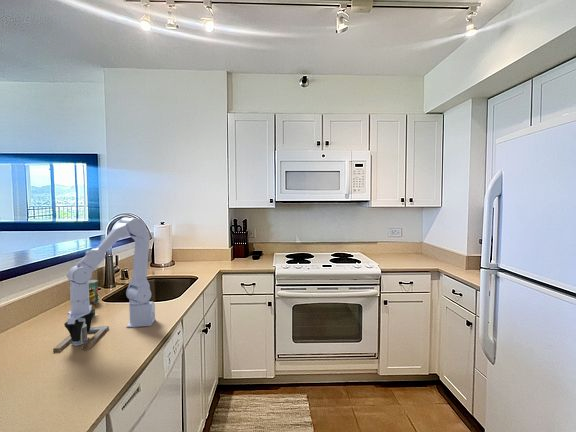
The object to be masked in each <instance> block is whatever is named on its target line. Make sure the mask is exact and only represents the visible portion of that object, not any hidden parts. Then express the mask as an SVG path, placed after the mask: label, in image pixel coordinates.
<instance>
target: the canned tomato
mask: <svg viewBox="0 0 576 432" xmlns="http://www.w3.org/2000/svg"><path fill="white" fill-rule="evenodd" d="M88 281H89V288H93V289H94V290H93V292H94V295H95V305H97V304H98V303H99V292H98V291H99V285H98V283H99V280H98V279H90V280H88Z"/></svg>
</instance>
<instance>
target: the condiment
mask: <svg viewBox="0 0 576 432" xmlns="http://www.w3.org/2000/svg"><path fill="white" fill-rule="evenodd" d="M93 290H94V289H93V288H89V305H92V310H91V311H95V315H94V316H93V317H95V316H98V315H100V313H96V304H95V295H94V292H93Z"/></svg>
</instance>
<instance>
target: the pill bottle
mask: <svg viewBox="0 0 576 432" xmlns="http://www.w3.org/2000/svg"><path fill="white" fill-rule="evenodd" d="M78 321H79V322H83V321H84V323H83V326H82V329H81V337H80V341H75V342H73V341H71V345H72V346H81V345H84V344H86V343H87V342H88V333H87V325H86V324H85V318H79V319H78Z"/></svg>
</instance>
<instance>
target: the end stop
mask: <svg viewBox="0 0 576 432" xmlns="http://www.w3.org/2000/svg"><path fill="white" fill-rule="evenodd" d="M100 329H106V332H107V331H108V330H109V325H103V326H91V327H90V331H89V332H87V334H96V333H97V332H98V331H99V330H100Z"/></svg>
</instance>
